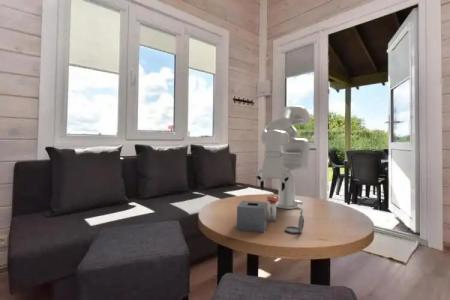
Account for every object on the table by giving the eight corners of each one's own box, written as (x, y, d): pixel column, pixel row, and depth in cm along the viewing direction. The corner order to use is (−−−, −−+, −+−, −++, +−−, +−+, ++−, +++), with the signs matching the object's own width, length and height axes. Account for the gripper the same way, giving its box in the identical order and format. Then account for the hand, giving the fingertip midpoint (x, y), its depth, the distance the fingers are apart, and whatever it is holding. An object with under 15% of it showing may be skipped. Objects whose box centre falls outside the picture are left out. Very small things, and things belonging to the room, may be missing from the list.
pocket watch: (283, 228, 113) (283, 206, 112) (301, 228, 114) (301, 206, 113) (289, 235, 105) (289, 211, 104) (308, 235, 105) (309, 211, 105)
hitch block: (267, 223, 119) (267, 202, 119) (264, 232, 108) (264, 208, 107) (242, 221, 123) (242, 200, 122) (236, 229, 111) (237, 206, 111)
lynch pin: (278, 219, 127) (278, 196, 126) (277, 222, 121) (278, 198, 121) (267, 218, 128) (267, 195, 128) (266, 221, 123) (266, 198, 122)
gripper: (291, 155, 124) (290, 189, 125) (256, 154, 129) (256, 187, 129) (291, 156, 117) (290, 192, 118) (254, 155, 122) (253, 190, 122)
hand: (272, 190), depth 123 cm, fingers open, 9 cm apart
